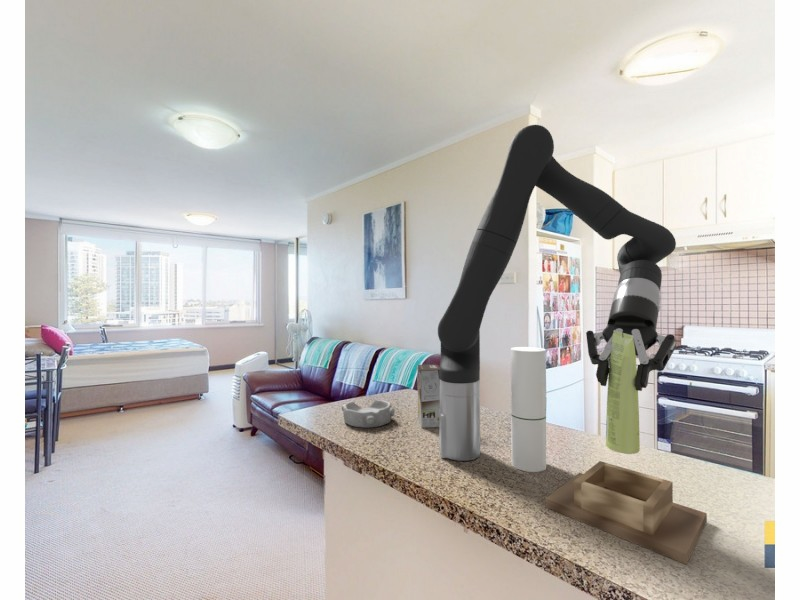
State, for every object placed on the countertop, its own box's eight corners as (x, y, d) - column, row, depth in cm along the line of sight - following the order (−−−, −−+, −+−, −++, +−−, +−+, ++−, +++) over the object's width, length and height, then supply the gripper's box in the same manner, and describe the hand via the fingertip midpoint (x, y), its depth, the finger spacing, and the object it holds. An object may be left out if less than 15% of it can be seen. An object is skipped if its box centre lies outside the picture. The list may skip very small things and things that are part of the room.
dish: (336, 419, 117) (336, 403, 117) (376, 411, 125) (376, 396, 125) (358, 434, 105) (357, 415, 105) (401, 424, 112) (401, 406, 112)
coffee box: (444, 427, 109) (443, 369, 109) (421, 428, 108) (420, 370, 108) (438, 416, 118) (437, 363, 118) (417, 417, 118) (416, 364, 117)
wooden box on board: (545, 507, 68) (545, 475, 68) (579, 480, 77) (579, 452, 77) (686, 564, 53) (686, 524, 53) (706, 522, 63) (706, 488, 63)
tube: (649, 451, 64) (648, 332, 64) (634, 459, 61) (632, 334, 61) (615, 440, 69) (613, 330, 69) (599, 447, 66) (597, 332, 66)
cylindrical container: (545, 460, 87) (545, 347, 86) (546, 474, 80) (546, 351, 80) (512, 456, 89) (511, 346, 89) (510, 469, 82) (509, 350, 82)
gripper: (588, 294, 75) (568, 367, 66) (680, 293, 66) (671, 377, 57) (596, 320, 79) (578, 391, 70) (683, 322, 70) (675, 405, 61)
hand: (620, 385), depth 64 cm, fingers closed on tube, 4 cm apart
